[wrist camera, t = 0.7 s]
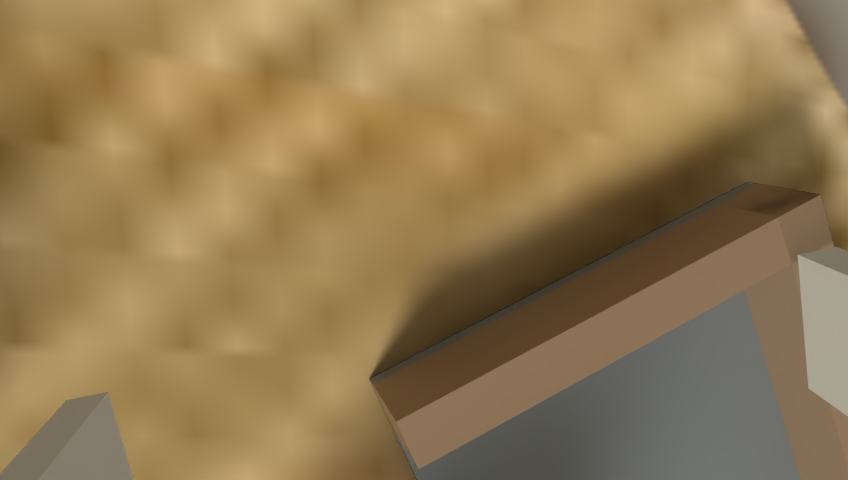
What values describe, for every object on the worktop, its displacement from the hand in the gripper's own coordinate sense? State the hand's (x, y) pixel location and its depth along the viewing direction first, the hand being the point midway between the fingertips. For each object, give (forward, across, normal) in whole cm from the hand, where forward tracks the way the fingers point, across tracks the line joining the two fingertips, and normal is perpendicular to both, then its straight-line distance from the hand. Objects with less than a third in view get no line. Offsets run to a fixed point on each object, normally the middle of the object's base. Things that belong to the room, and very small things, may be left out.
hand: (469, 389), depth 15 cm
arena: (+18, +8, -14) cm, 24 cm away
